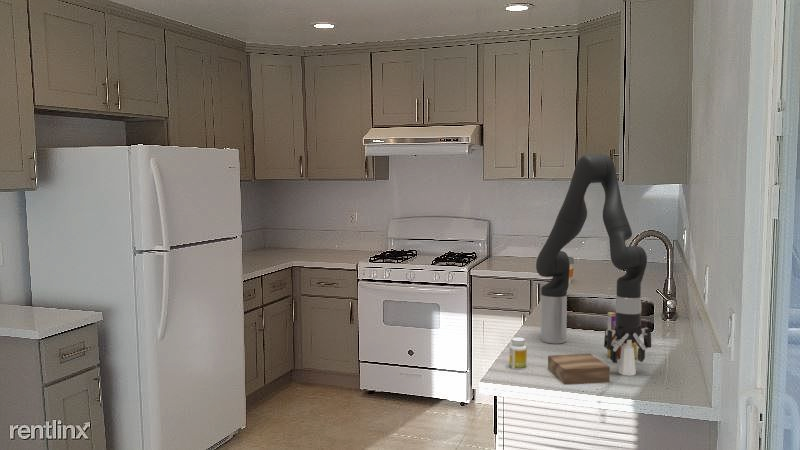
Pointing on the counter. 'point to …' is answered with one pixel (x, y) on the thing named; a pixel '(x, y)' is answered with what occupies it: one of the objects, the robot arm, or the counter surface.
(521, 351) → the supplement bottle
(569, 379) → the walnut riser
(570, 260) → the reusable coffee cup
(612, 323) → the candy box
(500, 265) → the counter surface
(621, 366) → the salt shaker
